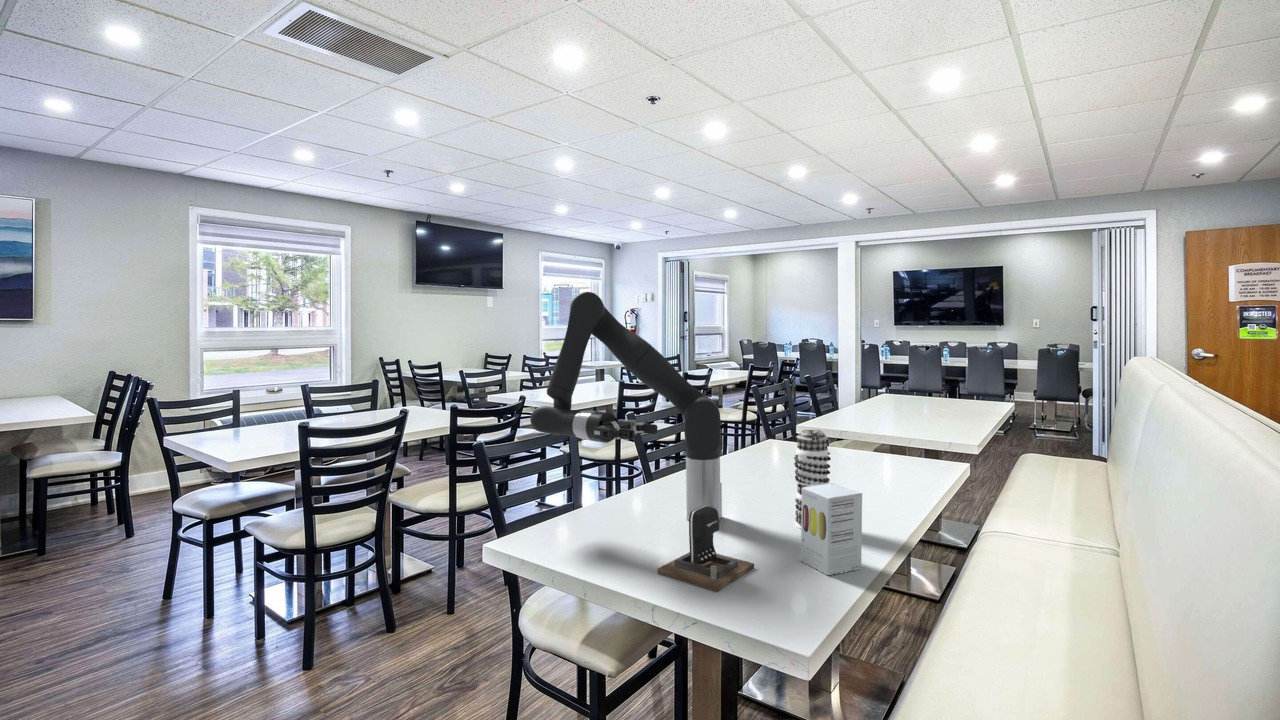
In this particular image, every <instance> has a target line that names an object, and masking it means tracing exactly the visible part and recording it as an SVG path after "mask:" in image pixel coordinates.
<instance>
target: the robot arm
mask: <svg viewBox="0 0 1280 720" xmlns="http://www.w3.org/2000/svg"><path fill="white" fill-rule="evenodd" d="M569 306H570V307H569V315H568V321H567V322H568V323H567V327H566V332H565V336H564V339H563V343H562V346H561V348H560V352H559V353H558V357H557V359H556V362H555V365H554V368H553V371H552V373H551V375H550V379H549V382H548V385H547V387H546V388H547V389H546V395H547V396H548V397H550V398H552V399H553V405H552V406H550V405H540V406H537V407H536V408H535V409H534V410H533V411H532V413H531V414H530V418H529V419H530V425H531V427H532V428H533V429H534V430H535V431H537V432H538V433H539V432H540V433H543V434H548V435H553V436H560V435H561V436H562V435H564V436H566V437H570V438H577V439H582V440H585V441H591V442H598V443H604V444H606V443H610V442H612V441H613V440H620V439H624V440H630V441H631V440H635V439H636V435H637V434H648V435H649V434H650V435H656V434H658V424H653V423H649V421H647V420H640V419H639V420H638V419H631V418H630V419H627V420H625V419H617V416H615V415H614V413H612V412H609V411H597V410H577V409H572V404H573V403H572V401H573V400H572V398H573V394H574V392H575V389H576V387H577V386H576V385H577V383H578V380H579V376H580V373H581V369H582V365H583V361H584V357H585V353H586V349H587V346H588V343H589V342H590V341H589V340H590V339H591V336H592V335H593V337H594V338H596V339H597V340H599V341H600V342H601V343H602V344H603V345H604V346H606V347H607V348H608V350H609V351H610V352H611V353H612V355H613V356H614V357H615V358H616V359H617V360H618V361H619V362H620V364H622V365H623V366H624V367H625V369H627V370H628V371H629V372H630V373H631V374H632V375H633V376H634V377H635V378H636V379H638V380H639V381H640V382H641V383H643V384H644V385H646V386H647V387H648V388H649V389H651V390H652V391H655V392H656V393H657V394H659V395H661V396H662V397H664V398H665V399H667V400H668V401H669V402H670V403H671V404H672V405H673V406H674V407H675V408H676V409H677V410H678V411H679V412H680V413H681V414H682V416H684V418H685V426H684V427H685V473H686V474H685V478H686V479H685V483H686V519H687V521H689V516H690V513H691V511H692V510H694V509H696V508H699V507H701V506H709V507H713V508H715V509H717V511H718V514H719V521H720V520H721V517H723V513H722V512H723V508H722V507H723V505H722V504H723V499H722V498H723V497H722V495H723V493H722V485H723V484H722V482H721V412H720V409H719V406H718V405H717V403H716V402H715V401H714V399H712V398H710V397H709V396H708V395H705V394H704V393H703V392H702V391H700V390H699V389H697V387H694V386H693V385H692V384H691V383H689V381H687V380H686V379H685V378H684V377H683V375H681V373H680V372H679V371H678V370H677V369H676V368H675V367H674V366H673V365H672V364H671V362H670V361H668V360H667V358H666V357H665V356H664V355H663V354H662V353H660V352H659V351H658V350H657V349H656V348H655V347H654V346H652V345H651V344H650V343H649V342H647V341H646V340H645V339H644V338H642V337H641V336H639V335H638V334H637V333H635V332H634V331H632V330H630V329H628V328H627V327H626V326H624V325H623V324H622V323H620V321H619V320H618V319H616V318H615V316H613V314H612V313H611V312H610V311H609V310H608V309H607V308H606V307H605V305H604V302H603V300H602V298H601V297H600V296H599V295H597V294H596V293H594V292H592V291H583V292H580V293H578V294H576V296H575V297H573V299H572V301H571V303H570V305H569Z"/></svg>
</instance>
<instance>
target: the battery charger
mask: <svg viewBox="0 0 1280 720" xmlns="http://www.w3.org/2000/svg"><path fill="white" fill-rule="evenodd" d="M719 531H720V520H719V514H718V511H717V509H715V508H713V507H709V506H701V507H699V508H696V509H694V510H692V511H691V513H690V516H689V520H688V539H689V540H688V541H689V552H690V562H692V563H695V564H705V563H707V562H709V561H711V560H713V559H714V558H716V553H717V552H716V550H715V546H714V534H715V533H716V532H719Z"/></svg>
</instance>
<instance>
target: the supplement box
mask: <svg viewBox="0 0 1280 720" xmlns="http://www.w3.org/2000/svg"><path fill="white" fill-rule="evenodd" d="M862 525H863V492H859V491H856V490H853V489H850V488H848V487H845V486H841V485H839V484H836V483H834V482H832V483H829V484H823V485H816V486H809V487H803V488H802V521H801V529H800V530H801V536H800V538H801V539H800V541H801V543H800V544H801V545H800V547H801V548H800V549H801V550H800V562H802V563H805V564H806V565H808V566H810V567H811V568H812V569H815V570H816V569H817V570H816V571H818V572H820V573H822V572H823V573H824V575H825V574H826V575H825V576H827V575H832V576H834V575H833V574H836V575H838V574H837V573H841V572H845V573H847V572H846V571H850V570H855V571H857V570H856V569H859V570H861V569H862V546H863V545H862V538H863V537H862V535H863V534H862V532H863V526H862ZM860 568H861V569H860ZM850 572H851V571H850ZM823 573H822V574H823ZM841 574H842V573H841Z"/></svg>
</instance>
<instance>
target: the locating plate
mask: <svg viewBox="0 0 1280 720" xmlns="http://www.w3.org/2000/svg"><path fill="white" fill-rule="evenodd" d="M753 569H755V563H753V562H751V561H746V560H742V559H739V558H734V557H731V556H727V555H724V554H720V553H717V552H716V558H714V559H713V560H711V561H709V562H707V563H705V564H695V563H692V562H690V551H689V552H687V553H685V554H683V555H681V556H679V557H677V558H674V559H673V560H672V561H670V562H669V561H668V563H666V564H664V565H662V566H659V567H658V568H657V569H656V571H657V574H658V575H660V576H661V575H662V576H665V577H669V578H671V579H675V580H678V581H681V582H684V583H688V584H691V585H694V586H697V587H699V588H703V589H707V590H710V591H713V592H715V593H717V592H719V591H720V590H722V589H724V588H725V587H727V586H728V585H730V584H731V583H733V582H734V581H737V580H738V579H739V578H741V577H743V576H744V575H745V574H747V573H748V572H749V573H750V571H752V570H753Z"/></svg>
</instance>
